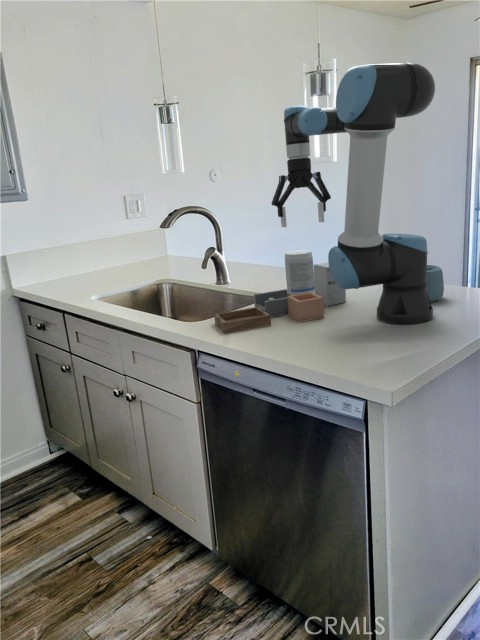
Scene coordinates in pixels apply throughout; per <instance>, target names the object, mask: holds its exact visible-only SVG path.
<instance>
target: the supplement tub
mask: <svg viewBox="0 0 480 640" xmlns="http://www.w3.org/2000/svg"><path fill="white" fill-rule="evenodd" d="M284 265H285V268H284V269H285V279H286V290H287V295H288V296H290V295H292V294H295V295H298V294H304V293H310V292H312V293H315V288H314V267H313V265H314V258H313V251H312V250H310V249H295V250H289V251H286V252H285V253H284Z"/></svg>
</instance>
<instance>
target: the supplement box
mask: <svg viewBox="0 0 480 640" xmlns="http://www.w3.org/2000/svg"><path fill="white" fill-rule="evenodd" d="M313 272H314V288H315V291H314V293H315V294H317V295H319V296H321V297H323V301H324V307H329V306H333V305H334V306H335V305H338V304H344V303H346V302H347V296H346V295H347V293H346V291H347V289H342V288H341V287H339V286H338V285H337V284H336V282H335V281H334V279H333V277H332V274H331V272H330V268H329V262H328V261H327V262H321V263H316V264H313Z"/></svg>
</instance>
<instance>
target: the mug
mask: <svg viewBox="0 0 480 640" xmlns="http://www.w3.org/2000/svg"><path fill="white" fill-rule="evenodd" d="M442 269H443V268H442V267H440V266H437V265H432V264H427V292H428V295H429V298H430V301H431V303H432V302H437V301H439V300H441V299H442V298H443V296H444V293H445V292H444V291H445V284H444V275H443V270H442Z"/></svg>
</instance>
